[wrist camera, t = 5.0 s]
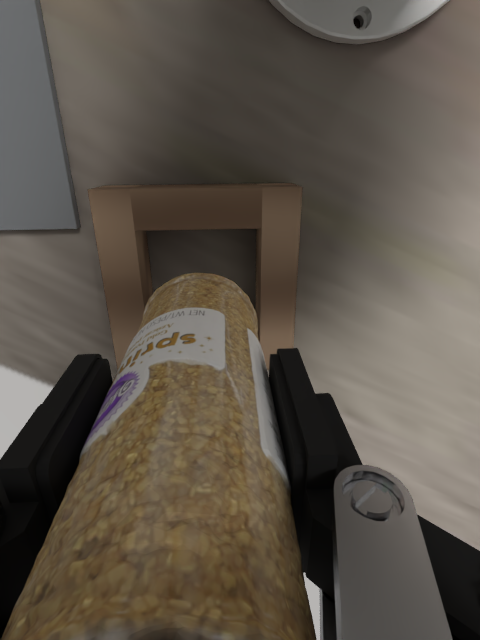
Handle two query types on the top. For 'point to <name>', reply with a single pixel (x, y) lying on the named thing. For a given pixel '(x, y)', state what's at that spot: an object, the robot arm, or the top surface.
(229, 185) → the walnut caddy
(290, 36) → the top surface
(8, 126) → the charcoal mat
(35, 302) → the top surface
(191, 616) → the sprinkles bottle
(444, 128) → the top surface
